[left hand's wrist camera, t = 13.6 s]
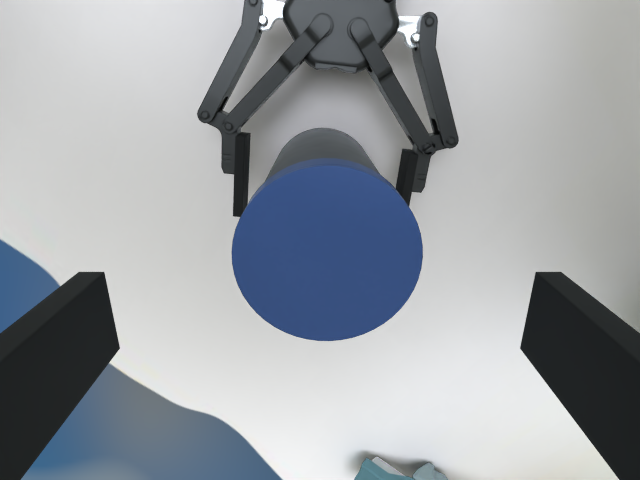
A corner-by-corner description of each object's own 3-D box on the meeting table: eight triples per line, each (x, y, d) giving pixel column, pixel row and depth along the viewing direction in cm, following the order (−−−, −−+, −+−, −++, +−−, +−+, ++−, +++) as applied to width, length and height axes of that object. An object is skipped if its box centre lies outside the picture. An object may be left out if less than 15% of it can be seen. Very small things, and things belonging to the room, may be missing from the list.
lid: (229, 161, 22) (220, 169, 20) (418, 154, 22) (428, 161, 20) (247, 323, 26) (241, 344, 24) (410, 318, 26) (418, 338, 24)
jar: (270, 129, 39) (228, 172, 21) (371, 126, 39) (420, 165, 21) (277, 225, 42) (247, 335, 24) (370, 222, 42) (411, 330, 24)
